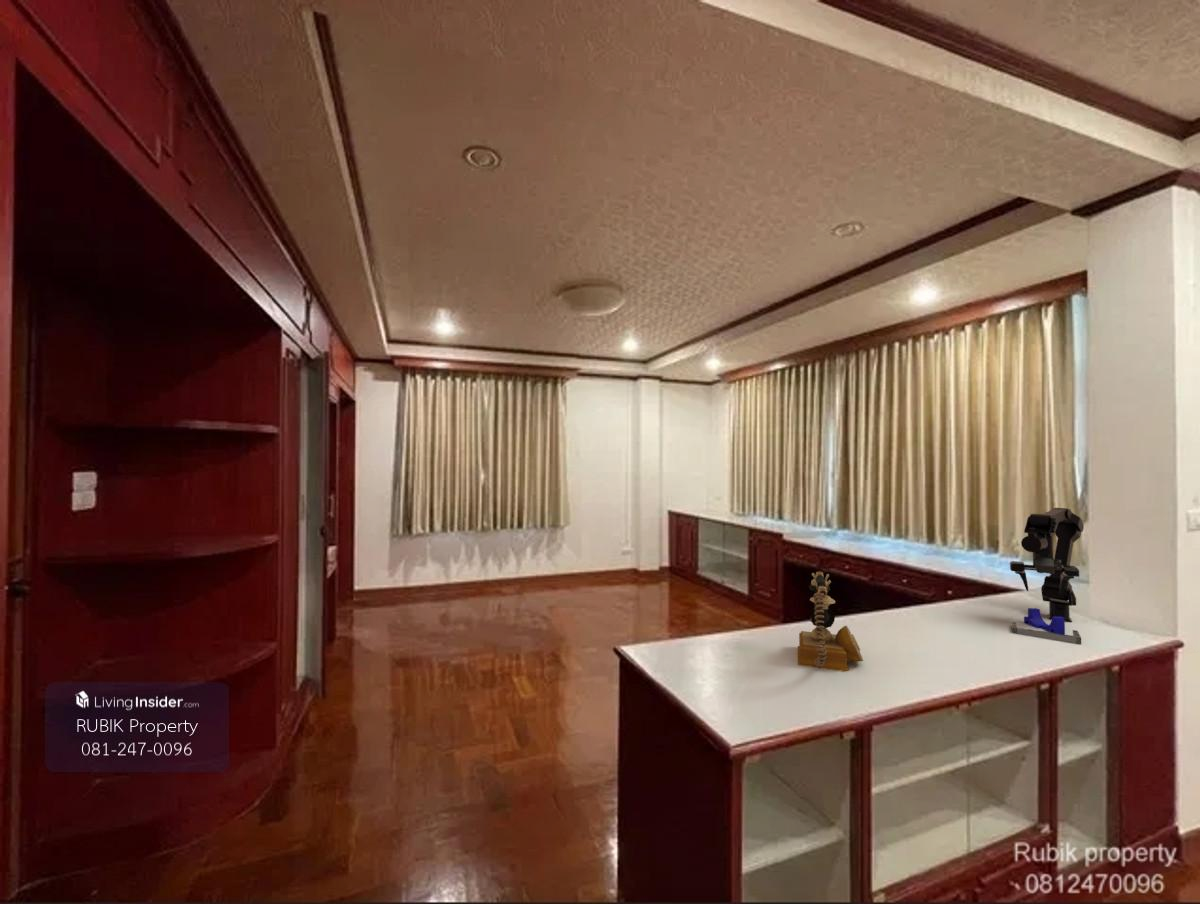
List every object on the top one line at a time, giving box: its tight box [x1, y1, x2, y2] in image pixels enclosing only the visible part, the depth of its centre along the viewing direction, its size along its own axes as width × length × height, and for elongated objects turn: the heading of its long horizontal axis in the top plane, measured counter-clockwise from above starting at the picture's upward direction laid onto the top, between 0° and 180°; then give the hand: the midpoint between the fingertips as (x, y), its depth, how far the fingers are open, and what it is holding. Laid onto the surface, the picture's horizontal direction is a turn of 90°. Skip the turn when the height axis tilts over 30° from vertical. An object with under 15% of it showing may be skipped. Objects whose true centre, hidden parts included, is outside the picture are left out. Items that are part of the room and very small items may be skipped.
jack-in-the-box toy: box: [797, 571, 864, 672], centre depth 152 cm, size 35×18×25 cm, turn 160°
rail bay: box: [1011, 621, 1082, 645], centre depth 180 cm, size 9×17×2 cm, turn 54°
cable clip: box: [1023, 607, 1066, 635], centre depth 186 cm, size 12×4×6 cm, turn 179°
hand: (1043, 592), depth 190 cm, fingers open, 9 cm apart
